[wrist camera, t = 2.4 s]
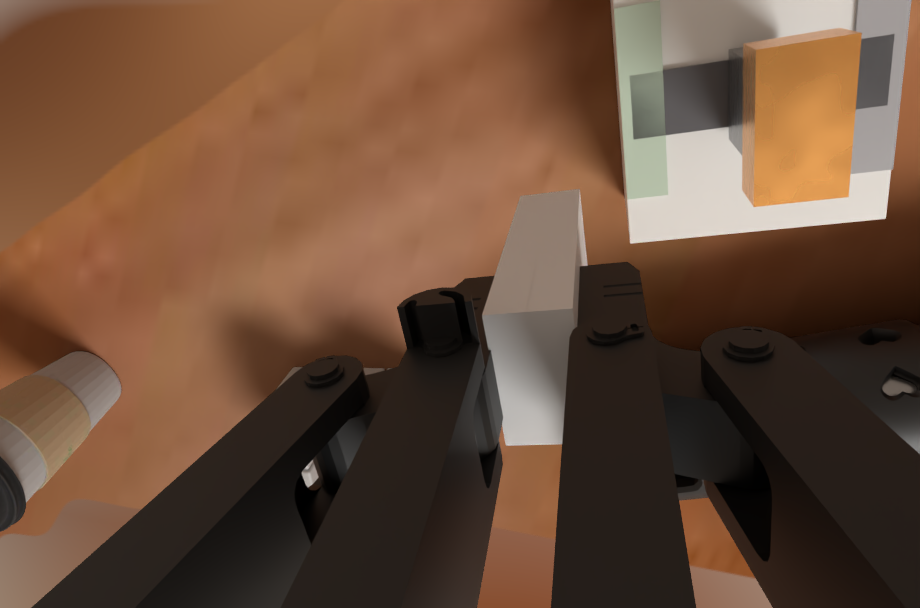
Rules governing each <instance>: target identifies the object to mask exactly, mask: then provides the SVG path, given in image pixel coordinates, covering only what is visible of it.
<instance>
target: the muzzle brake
mask: <svg viewBox="0 0 920 608" xmlns="http://www.w3.org/2000/svg"><path fill="white" fill-rule="evenodd" d="M790 339H792V340H793V341H794V342H796V343H797V344H798V345H799V346H800V347H801V348H802V349H803V350H804V351H806V352H807V353H808V354H809V355H810V356H811V357H812V358H813V359H814V360H816V361H817V362H818V363H819V364H820V365H821V366H822V367H823V368H824V369H826V370H827V371H828V372H829V373H830V374H831V375H832V376H833V377H834V378H836V379H837V380H838V381H839V382H840V383H841V384H842V385H843V386H844V387H846V388H847V389H848V390H849V391H850V392H851V393H852V394H853V395H854V396H856V397H857V398H858V399H859V400H860V401H861V402H862V403H863V404H865V405H866V406H867V407H868V408H869V409H870V410H871V411H872V412H873V413H875V414H876V415H877V416H878V417H879V418H880V419H881V420H882V421H883V422H885V423H886V424H887V425H888V426H889V427H890V428H891V429H892V430H893V431H895V432H896V433H897V434H898V435H899V436H900V437H901V438H902V439H903V440H905V441H906V442H907V443H908V444H909V445H910V446H911V447H912V448H913V449H915V450H916V451H917V452H918V453H919V454H920V324H919V325H915V324H914V323H912V322H910V321H908V320H899V319H897V320H892V321H886V322H880V323H874V324H868V325H862V326H856V327H850V328H844V329H839V330H833V331H827V332H821V333H815V334H809V335H803V336H797V337H791V338H790ZM675 479H676V486H677V492H678V498H679V500H689V499H698V498H708V495H707V493H706V490H705V486H704V480H701V479H696V478H692V477H687V476H682V475H678V474H675Z"/></svg>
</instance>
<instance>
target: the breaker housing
mask: <svg viewBox="0 0 920 608" xmlns="http://www.w3.org/2000/svg"><path fill="white" fill-rule="evenodd" d="M610 3H611V17H612V31H613V45H614V58H615V72H616V86H617V100H618V113H619V127H620V141H621V155H622V168H623V182H624V196H625V205H626V213H627V221H628V229H629V237H630V244H631V243H641V242H651V241H662V240H672V239H682V238H693V237H703V236H713V235H724V234H734V233H744V232H755V231H765V230H775V229H785V228H796V227H806V226H816V225H827V224H837V223H847V222H858V221H868V220H878V219H886V213H887V204H888V194H889V185H890V176H891V170H892V169H893V165H894V156H895V146H896V137H897V128H898V119H899V109H900V100H901V91H902V82H903V73H904V63H905V54H906V45H907V36H908V26H909V17H910V8H911V0H610ZM835 28H843V29H848V30H852V31H857V32H861V33H862V36H861V49H860V61H859V74H858V86H857V99H856V111H855V124H854V136H853V149H852V161H851V174H850V186H849V197H845V198H835V199H826V200H816V201H807V202H798V203H788V204H779V205H769V206H760V207H753V205H752V204H751V202H750V201H749V199H748V198H747V196H746V195H745V194H744V192H743V191H742V155H741V154H740V152H739V151H738V150H737V149H736V147H735V146H734V145H733V144H732V142H731V141H730V140H729V49H734V48H740V47H743V43H749V42H755V41H762V40H768V39H774V38H780V37H786V36H792V35H798V34H804V33H810V32H816V31H822V30H828V29H835Z"/></svg>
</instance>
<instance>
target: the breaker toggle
mask: <svg viewBox="0 0 920 608" xmlns="http://www.w3.org/2000/svg"><path fill="white" fill-rule="evenodd" d="M861 36H862V33H861V32H857V31H852V30H848V29H843V28H835V29H828V30H822V31H816V32H810V33H804V34H798V35H792V36H786V37H780V38H774V39H768V40H762V41H755V42H749V43H743V47H740V48H734V49H729V140H730V141H731V142H732V144H733V145H734V146H735V147H736V149H737V150H738V151H739V152H740V154H741V155H742V191H743V192H744V194H745V195H746V196H747V198H748V199H749V201H750V202H751V204H752V205H753V207H760V206H769V205H779V204H788V203H798V202H807V201H816V200H826V199H835V198H845V197H849V186H850V174H851V161H852V149H853V136H854V124H855V111H856V99H857V86H858V74H859V61H860V49H861Z"/></svg>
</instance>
